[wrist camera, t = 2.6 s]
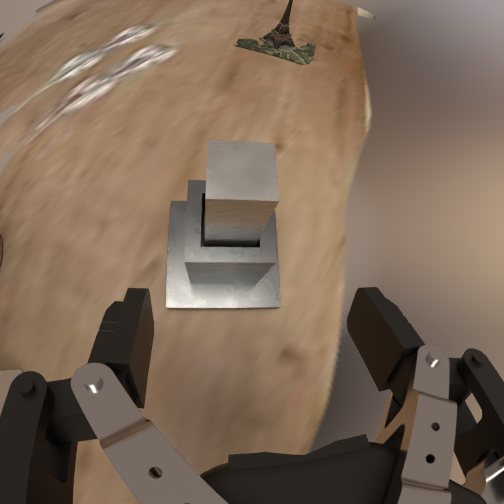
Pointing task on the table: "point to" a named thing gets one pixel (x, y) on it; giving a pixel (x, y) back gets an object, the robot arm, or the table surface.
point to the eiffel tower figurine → (281, 43)
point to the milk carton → (6, 383)
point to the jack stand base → (217, 263)
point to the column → (239, 192)
